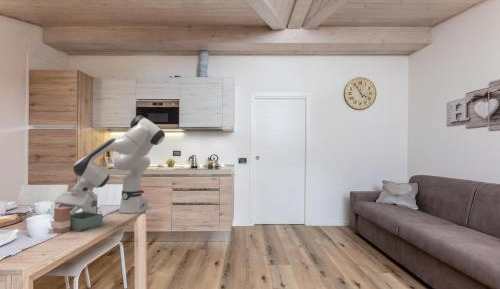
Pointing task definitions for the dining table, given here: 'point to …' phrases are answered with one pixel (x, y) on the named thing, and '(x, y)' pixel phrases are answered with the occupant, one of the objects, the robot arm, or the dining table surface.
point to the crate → (85, 221)
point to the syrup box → (92, 206)
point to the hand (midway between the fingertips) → (63, 213)
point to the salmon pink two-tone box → (61, 220)
